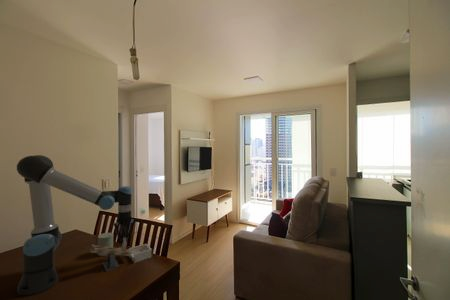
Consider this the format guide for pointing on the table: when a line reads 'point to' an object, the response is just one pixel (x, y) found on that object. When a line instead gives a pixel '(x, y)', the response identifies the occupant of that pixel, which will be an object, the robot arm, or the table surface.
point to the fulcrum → (110, 262)
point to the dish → (140, 253)
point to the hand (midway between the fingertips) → (124, 247)
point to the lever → (110, 250)
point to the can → (105, 241)
